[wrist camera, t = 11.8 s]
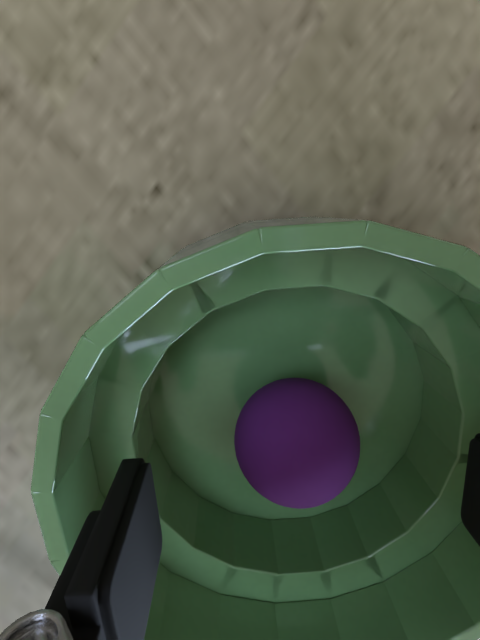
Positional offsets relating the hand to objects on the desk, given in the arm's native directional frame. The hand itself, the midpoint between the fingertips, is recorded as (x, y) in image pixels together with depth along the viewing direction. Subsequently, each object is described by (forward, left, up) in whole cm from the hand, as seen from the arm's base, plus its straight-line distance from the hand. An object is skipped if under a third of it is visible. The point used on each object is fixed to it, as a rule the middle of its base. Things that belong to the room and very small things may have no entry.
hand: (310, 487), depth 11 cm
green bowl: (0, 0, -5) cm, 5 cm away
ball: (0, 0, -3) cm, 3 cm away
